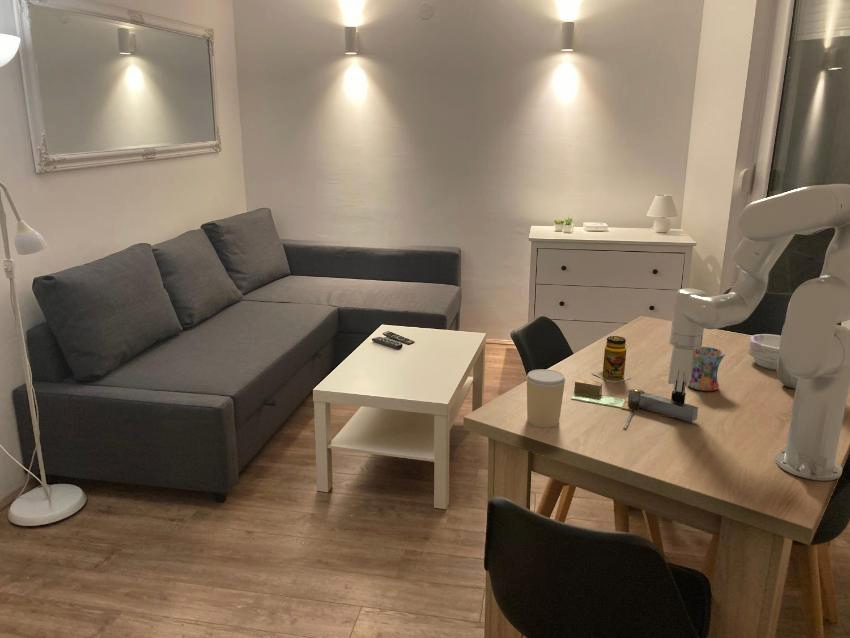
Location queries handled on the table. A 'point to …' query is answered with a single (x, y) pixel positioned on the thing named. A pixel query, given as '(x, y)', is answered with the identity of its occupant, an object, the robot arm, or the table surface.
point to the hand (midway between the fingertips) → (676, 407)
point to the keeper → (593, 393)
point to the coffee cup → (544, 397)
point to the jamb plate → (637, 409)
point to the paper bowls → (765, 350)
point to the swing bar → (662, 405)
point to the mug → (706, 369)
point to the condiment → (614, 360)
